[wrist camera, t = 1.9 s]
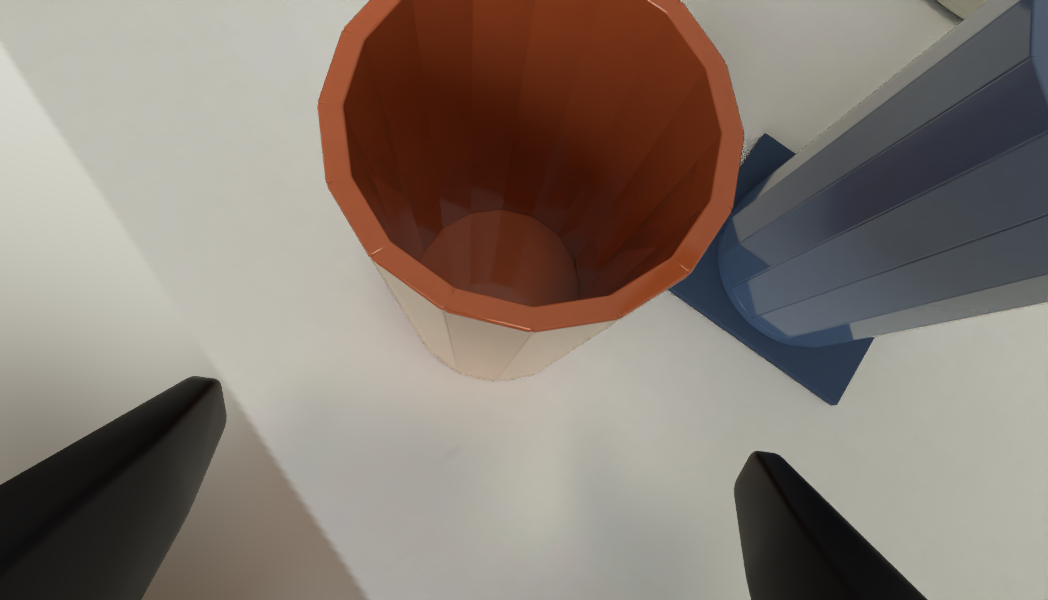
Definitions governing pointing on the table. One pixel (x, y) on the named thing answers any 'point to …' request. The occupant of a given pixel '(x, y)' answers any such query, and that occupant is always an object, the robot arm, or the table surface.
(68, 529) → the robot arm
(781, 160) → the blue mat
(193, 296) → the table surface
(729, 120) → the terracotta cup
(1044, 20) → the blue cup
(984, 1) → the jar
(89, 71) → the table surface
